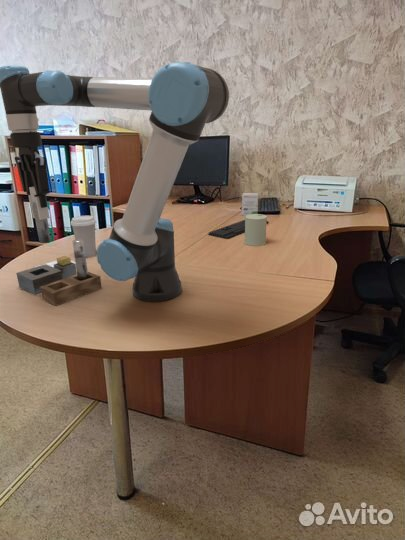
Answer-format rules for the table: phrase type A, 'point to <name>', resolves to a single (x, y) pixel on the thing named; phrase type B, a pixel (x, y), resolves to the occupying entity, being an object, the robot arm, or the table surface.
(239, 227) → the dark grey ribbed block
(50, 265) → the external hard drive
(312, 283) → the table surface
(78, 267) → the test tube
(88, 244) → the coffee cup
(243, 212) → the ink box
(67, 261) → the yellow piece
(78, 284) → the rack
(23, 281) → the block
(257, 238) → the can
